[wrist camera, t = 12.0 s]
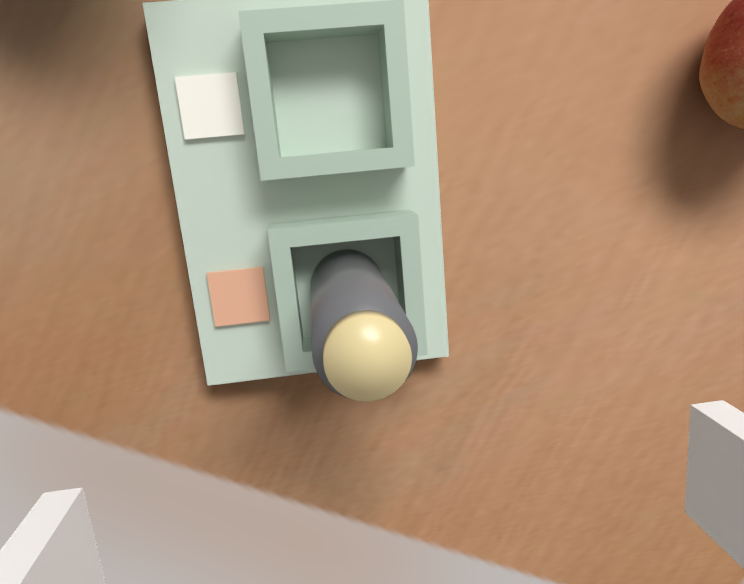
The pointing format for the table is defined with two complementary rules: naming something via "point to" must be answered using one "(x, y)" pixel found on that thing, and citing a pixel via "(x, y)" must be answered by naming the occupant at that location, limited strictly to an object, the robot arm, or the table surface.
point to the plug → (359, 328)
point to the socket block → (298, 165)
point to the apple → (725, 65)
